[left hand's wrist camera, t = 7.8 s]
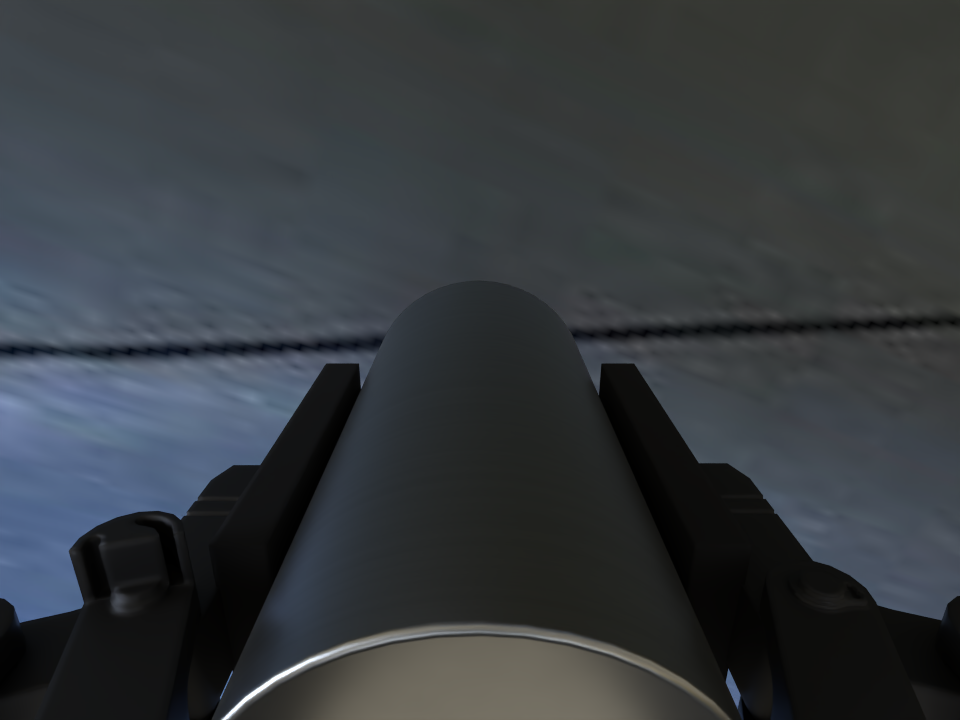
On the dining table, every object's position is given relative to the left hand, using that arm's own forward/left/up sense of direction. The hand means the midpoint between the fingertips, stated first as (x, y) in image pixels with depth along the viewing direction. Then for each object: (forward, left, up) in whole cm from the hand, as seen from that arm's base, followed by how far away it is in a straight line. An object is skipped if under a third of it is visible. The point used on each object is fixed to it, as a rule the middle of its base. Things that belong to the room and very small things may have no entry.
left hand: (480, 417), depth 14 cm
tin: (0, 0, -2) cm, 2 cm away
